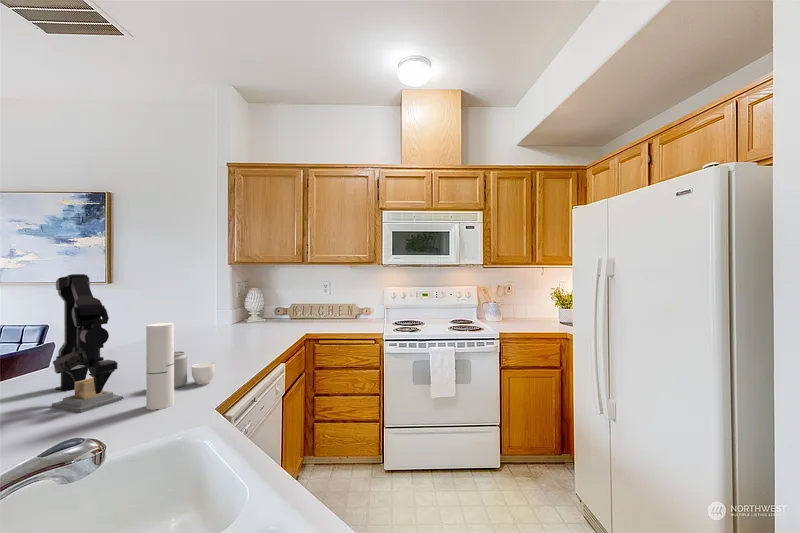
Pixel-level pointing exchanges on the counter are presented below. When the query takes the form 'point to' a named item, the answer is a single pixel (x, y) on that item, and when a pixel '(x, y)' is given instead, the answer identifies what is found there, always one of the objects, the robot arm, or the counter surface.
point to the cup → (203, 373)
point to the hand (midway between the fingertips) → (88, 391)
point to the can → (180, 369)
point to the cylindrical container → (159, 365)
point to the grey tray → (87, 402)
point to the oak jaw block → (85, 389)
